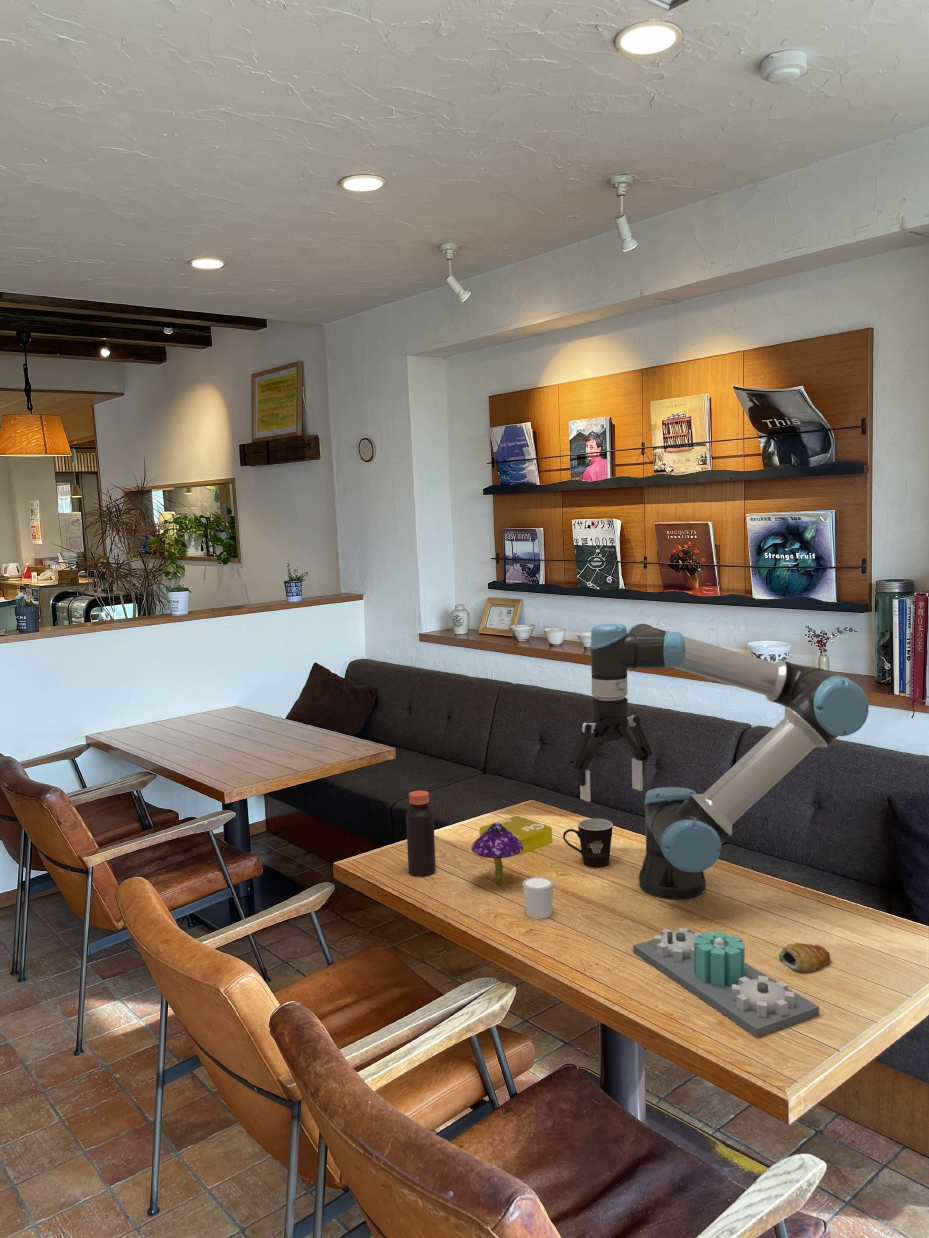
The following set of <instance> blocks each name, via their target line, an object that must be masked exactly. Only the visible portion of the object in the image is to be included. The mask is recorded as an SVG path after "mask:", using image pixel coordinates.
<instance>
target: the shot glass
mask: <svg viewBox="0 0 929 1238" xmlns="http://www.w3.org/2000/svg"><path fill="white" fill-rule="evenodd" d="M554 886H555V883H554V881H553V880H552V879H551V878H547V877H541V876H532V877H529V878H526V879H524V880H523V881H522V888H523V889H522V890H523V897H524V905H525V913H526V914H525V915H526V916H527V917H529V918H530V919H536V920H539V919H542V920H543V919H547V918H549V917H551V916H552V914H553V913H552V912H553V899H554Z"/></svg>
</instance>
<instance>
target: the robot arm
mask: <svg viewBox="0 0 929 1238" xmlns="http://www.w3.org/2000/svg"><path fill="white" fill-rule="evenodd" d="M590 634H591V635H590V646H589V647H590V664H591V665H590V666H591V669H590V670H591V695H592V696H593V698H592V699H591V705H592V706H591V707H592V708H591V710H592V711H591V713H592V716H593V722H589V723H587V722H585V721H583V722H580V728H579V734H578V737H577V740H576V741H575V745H574V748H573V751H572V753H571V755H570V759H569V761H568V763H567V764H568V767H569V768H572V769H573V770H576V783H577V785H579V793H580V795H579V796H580V799H581V800H583V801H585V802H591V800H592V799H591V771H590V770H589V769H588V768H589V766H590V765H591V762H592V761H593V759H594V758H595V756H596V755H597V753H598V751H599V749H601V747H602V746H604V744H605V743H606V742H612V741H620V740H621V742H622V743H623V745H624V746H626V748H628V750H629V751H630V753H631V754H632V755H633V756H634V757H633V758H631V784H632V786H631V788H632V789H634V790H637V791H640V792H642V791H644V790H643V788H644V787H643V785H644V784H643V783H644V782H643V781H644V780H643V779H644V778H643V775H644V774H645V772H646V768H645V767H646V766H645V765H646V762H647V761H648V759H649V757H651V756H652V755H653V750H652V748H651V746H650V743H649V742H648V739H647V737H646V735H645V732H644V731H643V729H642V726H641V720H640V716H639V715H635V714H629V699H628V698H627V697H626V696H627V695H628V693H629V692H628V691H629V690H628V670H630V669H631V670H633V669H634V670H635V669H656V668H657V669H660V668H666V669H670V668H673V669H676V670H680V671H683V672H686V673H690V674H693V675H697V676H699V677H704V678H706V679H710V680H713V681H717V682H720V683H724V684H725V685H730V686H734V687H737V688H739V689H742V690H743V689H744V690H747V691H750V692H753V693H757V694H760V695H763V696H765V697H766V699H767V701H769V702H772V703H775V704H778V705H781V706H783V707H784V717H783V719H782V720H780V722H778V723H777V724H776V725H775V726H774V727H773V728H772V729H771V730H770V731H769V732H768V733H767V734H766V735H764V736H763V738H761V739H760V740H759V741H758V742H757V743H756V744H755V745H754V746H753V747H752V748H750V750H748V751H747V753H745V754H744V755H743V756H742V757H741V758H740V759H739V760H737V762H736V763H735V764H734V765H733V766H732V767H730V769H728V771H726V772H725V773H724V774H723V775H722V776H721V777H719V779H717V781H716V782H714V783H713V785H711V786H710V787H709V788H708V789H707V790H706V791H705V792H704V793H701V794H699V793H697V792H696V791H695V790H693V789H692V788H691V789H690V788H687V787H678V786H677V787H676V786H675V787H673V786H672V787H670V786H668V787H665V786H663V787H657V788H655V787H654V788H652V789H649V790H648V791H646V793H645V801H644V805H645V846H646V847H645V855H644V859H643V861H642V865H641V870H639V871H640V872H639V873H638V885H639V886H638V887H639V888H640V889H641V890H642V891H643V892H645V893H647V894H648V895H651V896H654V897H659V898H662V899H673V900H677V899H678V900H680V899H684V900H685V899H689V898H694V897H697V896H700V895H701V894H704V892H705V891H706V884H707V883H706V880H707V879H706V876H705V873H704V871H706V870H708V869H709V868H711V867H712V866H714V865H715V863H717V861H718V860H719V858H720V855H721V852H722V851H721V850H722V845H723V844H724V843H725V842H726V841H727V840H728V839H729V838H730V837H732V835H733V825H734V823H735V822H737V821H738V819H740V817H742V816H743V815H744V814H745V813H746V812H747V811H748V810H750V808H751V807H753V805H755V804H756V803H757V802H758V801H759V800H760V799H761V798H762V797H763V796H764V795H766V794H767V793H768V792H769V791H770V789H772V788H773V787H774V786H775V785H776V784H777V783H778V782H780V781H781V780H782V779H783V777H785V776H786V775H787V774H788V773H789V772H791V770H793V768H795V766H796V765H798V764H799V762H801V761H802V760H803V759H804V758H805V757H807V755H808V754H809V753H811V752H812V751H813V750H814V749H816V748H827V747H829V746H830V745H831V743H833V742H834V741H835V740H836V739H838V737H847V736H850V735H853V734H854V733H856V732H858V731H859V730H860V729H861V728H862V727H863V726H864V725H865V723H866V722H867V719H868V717H869V711H870V710H869V706H870V705H869V699H868V696H867V693H866V692H865V691H864V690H863V688H862V687H861V686H860V685H859V684H857V683H856V682H855V681H853V680H852V679H850V678H848V677H846V676H842V675H839V674H836V673H834V672H832V671H829V670H827V669H824V668H820V667H815V666H808V665H802V664H797V663H792V662H788V661H785V660H778V661H776V662H772V661H769V660H765V659H762V658H758V657H755V656H753V655H749V654H745V653H742V652H738V651H735V650H731V649H728V648H725V647H721V646H718V645H714V644H711V643H708V642H704V641H700V640H697V639H694V638H690V637H687V636H685V635H683V633H682V632H679V631H670V630H663V629H660V628H657V627H653V626H652V625H650V624H647V623H635V624H634V625H631V627H630V628H628V630H627V626H626V625H625V624H621V623H601V624H596V625H594V626H593V627H592V628H591V630H590ZM628 714H629V715H628ZM627 716H628V717H627ZM628 726H629V729H630V731H631V734H632V735H633V737H634V739H635V741H634V739H632V737H631V734H630V733H629V732H628V731H627V730H626V729H627V728H628ZM592 733H593V734H592Z"/></svg>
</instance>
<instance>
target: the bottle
mask: <svg viewBox="0 0 929 1238" xmlns="http://www.w3.org/2000/svg"><path fill="white" fill-rule="evenodd" d="M408 800H409V801H408V802H409V806H410V808H409V809H408V811H406V814H405V823H406V844H407V845H406V846H407V864H408V865H407V867H408V869H407V870H408V873H409V874H410V875H411V876H414V877H428V876H432V875H433V874H434V873H435V872H436V871H437V868H436V863H437V862H436V844H435V825H434V824H435V820H434V819H435V818H434V811H433V810H432V809H431V808H430V807H429V804H430V793H429V791H426V790H413V791H410V792H409V794H408Z"/></svg>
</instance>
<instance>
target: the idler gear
mask: <svg viewBox="0 0 929 1238" xmlns="http://www.w3.org/2000/svg"><path fill="white" fill-rule="evenodd" d="M716 938H722V939H723V941H724V947H715V946H714V940H715V939H716ZM745 944H746V943H745V942H743V939H742V938H740V937H738V936H736V935H734V934H731V935H729V934H728V932H722V931H714V932H713V933H711V932H709V931H707V932H703V933H701V934H699V935H698V937H695V941H694V974H696V977H697V978H699V979H700V980H702V981H703V982H709V981H711V985H718V986H725V983H727V984H729V985H730V986H732V984H735V985H736V984H738V979H739V978H742V977H744V975H745V963H746V962H745V956H746V955H745V954H746V953H745V952H746V951H745Z"/></svg>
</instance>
